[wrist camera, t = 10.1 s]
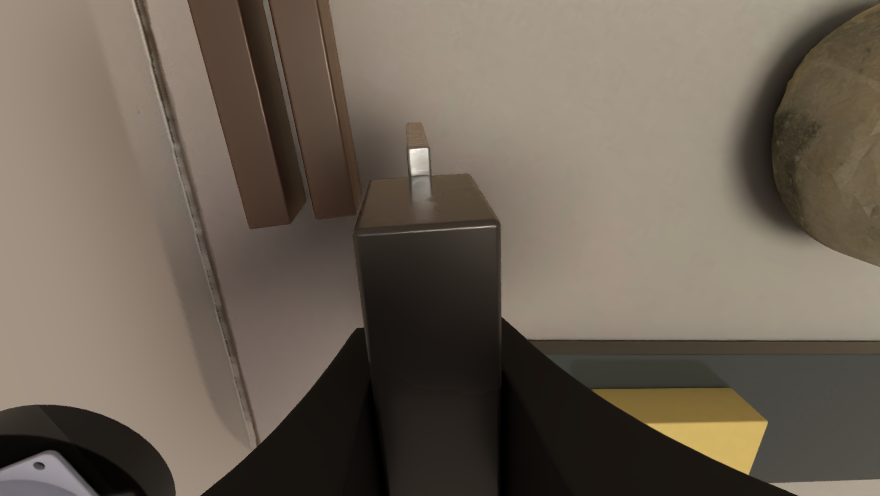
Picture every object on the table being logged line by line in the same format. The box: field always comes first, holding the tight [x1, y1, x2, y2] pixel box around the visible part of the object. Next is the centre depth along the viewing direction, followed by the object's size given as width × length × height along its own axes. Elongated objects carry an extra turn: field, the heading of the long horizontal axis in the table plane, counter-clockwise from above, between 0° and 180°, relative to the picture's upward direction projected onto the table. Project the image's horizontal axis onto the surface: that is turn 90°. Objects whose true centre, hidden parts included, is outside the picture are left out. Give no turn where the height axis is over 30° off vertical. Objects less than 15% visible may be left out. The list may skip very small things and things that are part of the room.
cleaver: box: [353, 122, 502, 496], centre depth 10 cm, size 2×9×7 cm, turn 3°
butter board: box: [529, 341, 880, 483], centre depth 24 cm, size 46×8×1 cm, turn 86°
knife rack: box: [187, 0, 362, 229], centre depth 15 cm, size 4×10×3 cm, turn 7°
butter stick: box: [592, 388, 768, 475], centre depth 21 cm, size 7×4×2 cm, turn 86°
